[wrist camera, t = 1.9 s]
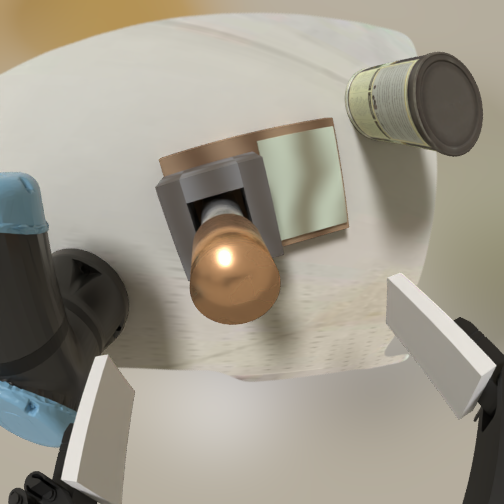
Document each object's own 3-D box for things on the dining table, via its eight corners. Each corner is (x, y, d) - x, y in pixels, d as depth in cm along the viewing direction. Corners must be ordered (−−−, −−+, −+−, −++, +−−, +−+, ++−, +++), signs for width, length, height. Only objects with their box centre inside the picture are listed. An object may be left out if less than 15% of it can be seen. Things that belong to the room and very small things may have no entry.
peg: (203, 232, 34) (206, 333, 18) (190, 190, 32) (176, 260, 16) (247, 220, 34) (287, 310, 18) (236, 177, 32) (270, 234, 16)
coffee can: (379, 54, 30) (451, 36, 17) (418, 114, 34) (493, 122, 21) (327, 93, 31) (394, 82, 19) (373, 156, 35) (446, 178, 23)
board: (196, 263, 38) (194, 297, 30) (161, 157, 32) (148, 166, 24) (342, 222, 38) (371, 245, 31) (325, 117, 32) (356, 117, 25)
